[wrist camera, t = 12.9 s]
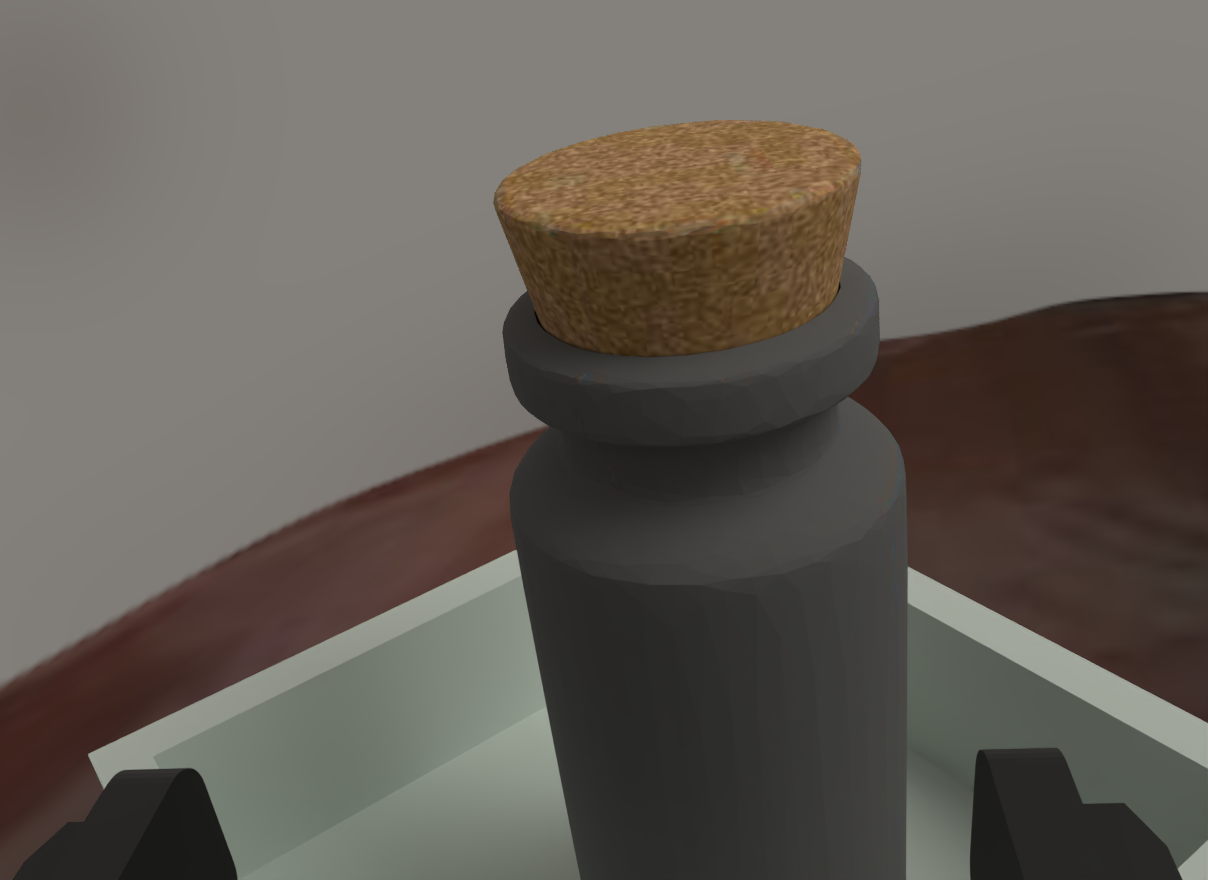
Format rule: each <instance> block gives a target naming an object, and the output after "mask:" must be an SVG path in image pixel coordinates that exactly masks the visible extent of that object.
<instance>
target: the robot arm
mask: <svg viewBox="0 0 1208 880" xmlns="http://www.w3.org/2000/svg"><path fill="white" fill-rule="evenodd" d="M970 879H971V880H1182V877H1181V875H1180V873H1179V871H1178V869H1177V866H1176V864H1175V862H1174V860H1173V858H1172V855H1171V853H1170V851H1169V849H1168V847H1167V845H1166V844H1165V843H1164V842H1163V841H1162V840H1161V839H1160V838H1159V837H1158V836H1157V835H1156V834H1155V833H1154V832H1153V831H1152V830H1151V829H1150V828H1149V827H1148V826H1147V825H1146V824H1145V823H1144V822H1143V821H1142V820H1141V819H1140V818H1139V817H1138V816H1137V815H1136V814H1135V813H1134V812H1133V811H1132V810H1131V809H1130V808H1129V807H1128V806H1127V805H1126V804H1125V803H1096V804H1083V803H1082V800H1081V797H1080V795H1079V792H1078V790H1077V787H1076V785H1075V782H1074V779H1073V777H1072V774H1071V772H1070V769H1069V766H1068V764H1067V762H1066V759H1065V757H1064V755H1063V754H1062V752H1061V751H1060V750H1059V749H1058V748H1024V749H986V750H979V751H978V753H977V756H976V764H975V779H974V795H973V812H972V828H971V845H970ZM13 880H238V878H237V872H236V867H235V864H234V861H233V858H232V856H231V853H230V850H229V848H228V845H227V842H226V839H225V837H224V834H223V831H222V829H221V826H220V823H219V820H218V818H217V815H216V812H215V810H214V807H213V804H212V802H211V799H210V796H209V793H208V791H207V788H206V785H205V783H204V780H203V778H202V776H201V775H200V774H199V772H197V771H196V770H195V769H192V768H173V769H136V770H123V771H120V772H118V773H117V774H115V775H114V776H113V777H112V778H111V780H110V781H109V782H108V784H107V785H106V787H105V789H104V790H103V792H102V793H101V795H100V797H99V798H98V800H97V802H96V803H95V805H94V806H93V808H92V810H91V811H90V813H89V815H88V816H87V818H86V819H85V821H84V822H68V823H67V824H66V825H65V826H64V827H62V828H61V829H60V830H59V831H58V832H57V833H56V834H55V835H54V836H53V837H51V838H50V839H49V840H48V841H47V842H46V843H45V844H44V845H43V846H41V847H40V848H39V849H38V850H37V851H36V852H35V853H34V854H33V855H31V856H30V857H29V858H28V859H27V860H26V861H25V862H24V863H23V865H22V866H21V868H20V869H19V871H18V872H17V874H16V875H15V877H14V878H13Z"/></svg>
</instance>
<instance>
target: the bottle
mask: <svg viewBox="0 0 1208 880" xmlns="http://www.w3.org/2000/svg"><path fill="white" fill-rule="evenodd" d="M860 172H861V158H860V153H859V152H858V150H857V148H856V147H855V146H854V145H853V144H852V143H850V142H849V141H848V140H847V139H845V138H843V137H840V136H838V135H835V134H833V133H831V132H828V131H826V130H824V129H819V128H813V127H808V126H803V125H797V124H791V123H786V122H776V121H775V122H774V121H744V120H714V121H703V122H692V123H682V124H672V125H663V126H653V127H648V128H642V129H636V130H631V131H625V132H620V133H615V134H611V135H607V136H603V137H599V138H594V139H590V140H587V141H582V142H579V143H577V144H573V145H571V146H568V147H565V148H562V149H559V150H556V151H553V152H550V153H547V154H545V155H543V156H541V157H539V158H537V159H535V160H533V161H531V162H529V163H527V164H525V165H523V166H522V167H520V168H518V169H516V170H515V171H514V172H512V173H511V174H510V175H509V176H508V177H506V178H505V179H504V180H503V181H502V182H501V184H500V185H499V187H498V189H497V190H496V192H495V196H494V206H495V210H496V212H497V215H498V218H499V220H500V223H501V225H502V228H503V230H504V233H505V235H506V238H507V240H508V243H509V245H510V248H511V250H512V253H513V255H514V258H515V260H516V263H517V266H518V268H519V271H520V273H521V276H522V278H523V281H524V283H525V285H526V288H527V292H525V293H524V294H523V295H522V296H521V297H520V298H519V299H518V300H517V301H516V302H515V304H514V305H513V306H512V307H511V308H510V310H509V313H508V315H507V317H506V319H505V321H504V326H503V339H504V348H505V357H506V362H507V368H508V373H509V378H510V382H511V385H512V387H513V390H514V393H515V395H516V397H517V398H518V400H519V402H520V403H521V405H522V406H523V407H524V408H525V409H526V410H527V411H528V412H530V413H531V414H532V415H534V416H535V417H536V418H537V419H539V420H540V421H542V422H544V423H545V424H547V425H549V426H550V427H549V428H548V429H547V430H545V431H544V432H543V433H542V434H541V435H540V436H539V437H538V439H537V440H536V441H535V442H534V443H533V444H532V445H531V446H530V447H529V449H528V450H527V452H526V454H525V455H524V457H523V458H522V460H521V462H520V463H519V465H518V467H517V469H516V471H515V473H514V477H513V481H512V485H511V489H510V512H511V521H512V527H513V532H514V538H515V543H516V549H517V554H518V560H519V565H520V571H521V576H522V582H523V587H524V593H525V598H526V603H527V608H528V613H529V618H530V624H531V629H532V634H533V639H534V644H535V650H536V655H537V660H538V665H539V670H540V676H541V681H542V686H543V691H544V696H545V701H546V707H547V712H548V717H549V722H550V727H551V733H552V738H553V743H554V748H555V753H556V758H557V763H558V768H559V774H560V779H561V784H562V789H563V794H564V799H565V804H566V809H567V814H568V819H569V824H570V829H571V834H572V839H573V845H574V850H575V855H576V859H577V864H578V869H579V874H580V879H581V880H906V807H907V622H908V556H907V509H906V473H905V467H904V461H903V458H902V454H901V451H900V448H899V446H898V444H897V442H896V441H895V439H894V438H893V436H892V435H891V433H890V432H889V430H888V429H887V428H886V427H885V426H884V425H883V424H882V423H881V422H880V421H879V420H878V419H877V418H876V417H875V416H874V415H873V414H872V413H870V412H869V411H868V410H867V409H865V408H864V407H862V406H861V405H859V404H858V403H857V402H855V401H854V400H852V399H851V398H849V397H848V396H849V395H850V394H851V393H852V392H853V391H854V390H856V389H857V388H858V387H859V386H860V385H861V384H862V383H863V382H864V381H865V380H866V379H867V378H868V377H869V375H870V373H871V371H872V369H873V367H874V365H875V362H876V359H877V353H878V347H879V341H880V333H879V331H880V330H879V298H878V294H877V290H876V286H875V284H874V282H873V281H872V279H871V277H870V276H869V275H868V274H867V273H866V272H865V271H864V270H863V269H862V268H861V267H860V266H859V265H857V264H856V263H855V262H853V261H852V260H850V259H847V258H845V257H844V255H845V251H846V245H847V241H848V235H849V230H850V225H851V220H852V215H853V209H854V204H855V199H856V194H857V189H858V183H859V178H860Z"/></svg>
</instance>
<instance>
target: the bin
mask: <svg viewBox="0 0 1208 880" xmlns="http://www.w3.org/2000/svg"><path fill="white" fill-rule="evenodd" d="M1024 748H1058V749H1059V750H1060V751H1061V752H1062V754H1063V755H1064V757H1065V759H1066V762H1067V764H1068V766H1069V769H1070V772H1071V774H1072V777H1073V779H1074V782H1075V785H1076V787H1077V790H1078V792H1079V795H1080V797H1081V800H1082V803H1083V804H1096V803H1125V804H1126V805H1127V806H1128V807H1129V808H1130V809H1131V810H1132V811H1133V812H1134V813H1135V814H1136V815H1137V816H1138V817H1139V818H1140V819H1141V820H1142V821H1143V822H1144V823H1145V824H1146V825H1147V826H1148V827H1149V828H1150V829H1151V830H1152V831H1153V832H1154V833H1155V834H1156V835H1157V836H1158V837H1159V838H1160V839H1161V840H1162V841H1163V842H1164V843H1165V844H1166V845H1167V847H1168V849H1169V851H1170V853H1171V855H1172V858H1173V860H1174V862H1175V864H1176V866H1177V869H1178V871H1179V873H1180V875H1181V877H1182V880H1208V723H1206V722H1204V721H1203V720H1201V719H1199V718H1197V717H1195V716H1193V715H1191V714H1189V713H1187V712H1185V711H1183V710H1181V709H1180V708H1178V707H1176V706H1174V705H1172V704H1170V703H1168V702H1166V701H1164V700H1162V699H1160V698H1158V697H1157V696H1155V695H1153V694H1151V693H1149V692H1147V691H1145V690H1143V689H1141V688H1139V687H1137V686H1135V685H1134V684H1132V683H1130V682H1128V681H1126V680H1124V679H1122V678H1120V677H1118V676H1116V675H1114V674H1112V673H1111V672H1109V671H1107V670H1105V669H1103V668H1101V667H1099V666H1097V665H1095V664H1093V663H1091V662H1090V661H1088V660H1086V659H1084V658H1082V657H1080V656H1078V655H1076V654H1074V653H1072V652H1070V651H1068V650H1067V649H1065V648H1063V647H1061V646H1059V645H1057V644H1055V643H1053V642H1051V641H1049V640H1047V639H1045V638H1044V637H1042V636H1040V635H1038V634H1036V633H1034V632H1032V631H1030V630H1028V629H1026V628H1024V627H1022V626H1021V625H1019V624H1017V623H1015V622H1013V621H1011V620H1009V619H1007V618H1005V617H1003V616H1001V615H999V614H998V613H996V612H994V611H992V610H990V609H988V608H986V607H984V606H982V605H980V604H978V603H976V602H975V601H973V600H971V599H969V598H967V597H965V596H963V595H961V594H959V593H957V592H955V591H953V590H952V589H950V588H948V587H946V586H944V585H942V584H940V583H938V582H936V581H934V580H932V579H930V578H929V577H927V576H925V575H923V574H921V573H919V572H917V571H915V570H913V569H911V568H909V567H908V622H907V807H906V880H971V879H970V845H971V828H972V812H973V795H974V779H975V764H976V756H977V753H978V751H979V750H986V749H1024ZM88 756H89V758H90V761H91V763H92V765H93V768H94V770H95V772H96V774H97V777H98V779H99V781H100V784H101V786H102V788H103V790H104V789H105V787H106V785H107V784H108V782H109V781H110V780H111V778H112V777H113V776H114V775H115V774H117V773H118V772H120V771H123V770H136V769H173V768H192V769H195V770H196V771H197V772H199V774H200V775H201V776H202V778H203V780H204V783H205V785H206V788H207V791H208V793H209V796H210V799H211V802H212V804H213V807H214V810H215V812H216V815H217V818H218V820H219V823H220V826H221V829H222V831H223V834H224V837H225V839H226V842H227V845H228V848H229V850H230V853H231V856H232V858H233V861H234V864H235V867H236V872H237V878H238V880H581V879H580V874H579V869H578V864H577V859H576V855H575V850H574V845H573V839H572V834H571V829H570V824H569V819H568V814H567V809H566V804H565V799H564V794H563V789H562V784H561V779H560V774H559V768H558V763H557V758H556V753H555V748H554V743H553V738H552V733H551V727H550V722H549V717H548V712H547V707H546V701H545V696H544V691H543V686H542V681H541V676H540V670H539V665H538V660H537V655H536V650H535V644H534V639H533V634H532V629H531V624H530V618H529V613H528V608H527V603H526V598H525V593H524V587H523V582H522V576H521V571H520V565H519V560H518V554H517V550H515V551H513V552H511V553H508V554H506V555H504V556H502V557H500V558H498V559H496V560H494V561H492V562H490V563H488V564H485V565H483V566H481V567H479V568H477V569H475V570H473V571H471V572H469V573H467V574H464V575H462V576H460V577H458V578H456V579H454V580H452V581H450V582H448V583H446V584H444V585H441V586H439V587H437V588H435V589H433V590H431V591H429V592H427V593H425V594H423V595H420V596H418V597H416V598H414V599H412V600H410V601H408V602H406V603H404V604H402V605H400V606H397V607H395V608H393V609H391V610H389V611H387V612H385V613H383V614H381V615H379V616H376V617H374V618H372V619H370V620H368V621H366V622H364V623H362V624H360V625H358V626H355V627H353V628H351V629H349V630H347V631H345V632H343V633H341V634H339V635H337V636H335V637H332V638H330V639H328V640H326V641H324V642H322V643H320V644H318V645H316V646H314V647H311V648H309V649H307V650H305V651H303V652H301V653H299V654H297V655H295V656H293V657H291V658H288V659H286V660H284V661H282V662H280V663H278V664H276V665H274V666H272V667H270V668H267V669H265V670H263V671H261V672H259V673H257V674H255V675H253V676H251V677H249V678H247V679H244V680H242V681H240V682H238V683H236V684H234V685H232V686H230V687H228V688H226V689H223V690H221V691H219V692H217V693H215V694H213V695H211V696H209V697H207V698H205V699H203V700H200V701H198V702H196V703H194V704H192V705H190V706H188V707H186V708H184V709H182V710H179V711H177V712H175V713H173V714H171V715H169V716H167V717H165V718H163V719H161V720H159V721H156V722H154V723H152V724H150V725H148V726H146V727H144V728H142V729H140V730H138V731H135V732H133V733H131V734H129V735H127V736H125V737H123V738H121V739H119V740H117V741H115V742H112V743H110V744H108V745H106V746H104V747H102V748H100V749H98V750H96V751H94V752H91V753H89V754H88Z"/></svg>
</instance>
